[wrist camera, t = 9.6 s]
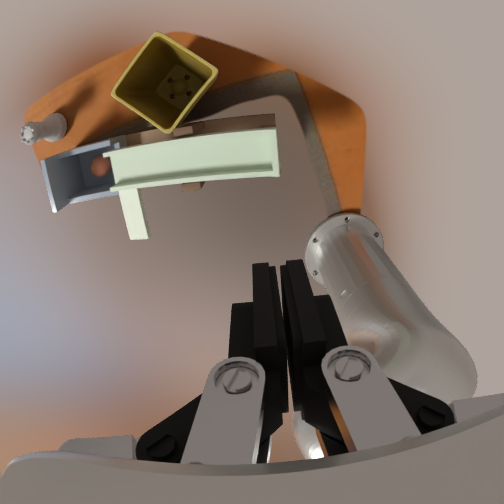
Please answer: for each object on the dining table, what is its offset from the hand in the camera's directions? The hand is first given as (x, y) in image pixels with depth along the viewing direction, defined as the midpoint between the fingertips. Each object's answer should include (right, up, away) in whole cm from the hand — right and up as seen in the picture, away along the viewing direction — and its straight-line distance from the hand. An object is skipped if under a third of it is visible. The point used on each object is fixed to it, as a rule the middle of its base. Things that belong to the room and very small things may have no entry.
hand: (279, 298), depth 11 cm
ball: (-22, +13, +28) cm, 38 cm away
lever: (-7, +9, +23) cm, 26 cm away
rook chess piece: (-30, +20, +27) cm, 45 cm away
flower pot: (-10, +23, +25) cm, 36 cm away
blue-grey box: (-22, +14, +30) cm, 40 cm away
